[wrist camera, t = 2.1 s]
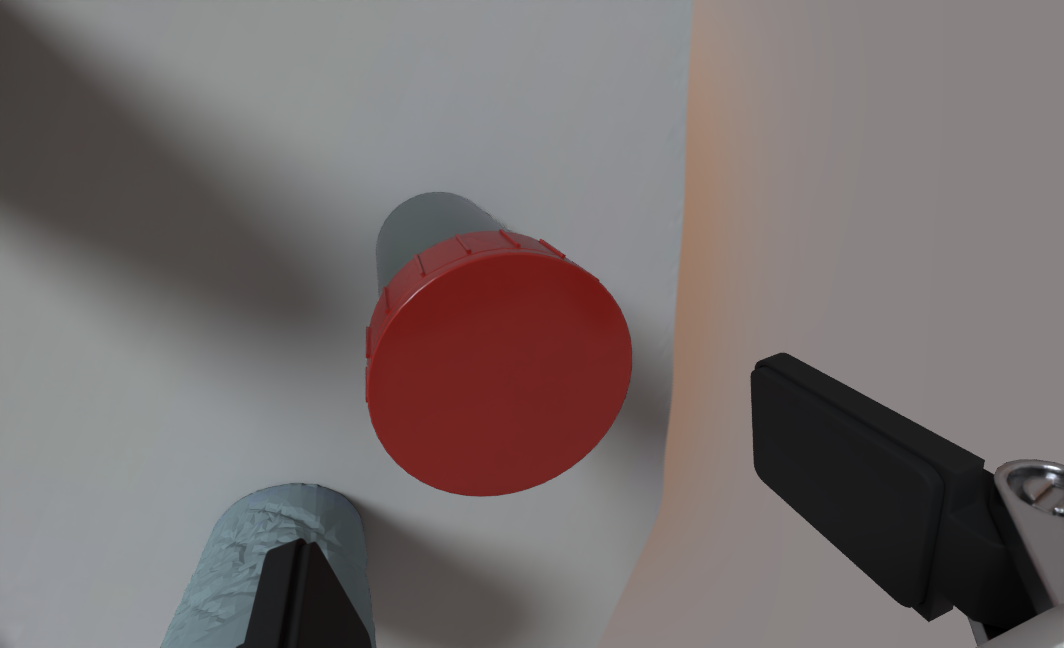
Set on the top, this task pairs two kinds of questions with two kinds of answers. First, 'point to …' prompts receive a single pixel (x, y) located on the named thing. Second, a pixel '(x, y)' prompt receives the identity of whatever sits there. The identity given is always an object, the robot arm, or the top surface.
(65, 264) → the top surface
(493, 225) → the jar
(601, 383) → the lid
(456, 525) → the top surface
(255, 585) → the embossed blue cup
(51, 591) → the top surface
